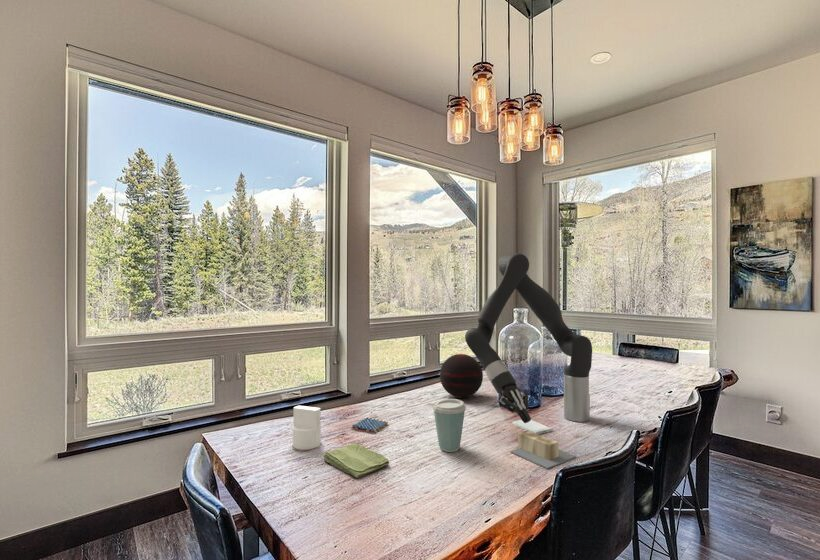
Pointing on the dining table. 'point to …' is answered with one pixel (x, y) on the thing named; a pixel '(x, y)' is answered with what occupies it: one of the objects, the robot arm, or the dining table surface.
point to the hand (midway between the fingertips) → (528, 421)
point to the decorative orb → (461, 375)
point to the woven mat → (370, 425)
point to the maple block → (538, 445)
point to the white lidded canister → (306, 427)
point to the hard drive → (532, 426)
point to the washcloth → (355, 459)
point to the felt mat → (542, 461)
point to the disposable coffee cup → (449, 423)
